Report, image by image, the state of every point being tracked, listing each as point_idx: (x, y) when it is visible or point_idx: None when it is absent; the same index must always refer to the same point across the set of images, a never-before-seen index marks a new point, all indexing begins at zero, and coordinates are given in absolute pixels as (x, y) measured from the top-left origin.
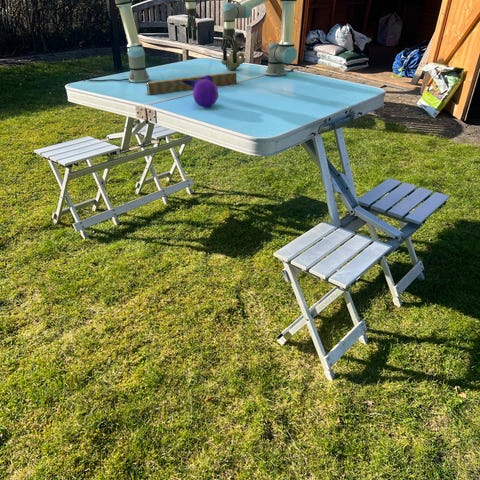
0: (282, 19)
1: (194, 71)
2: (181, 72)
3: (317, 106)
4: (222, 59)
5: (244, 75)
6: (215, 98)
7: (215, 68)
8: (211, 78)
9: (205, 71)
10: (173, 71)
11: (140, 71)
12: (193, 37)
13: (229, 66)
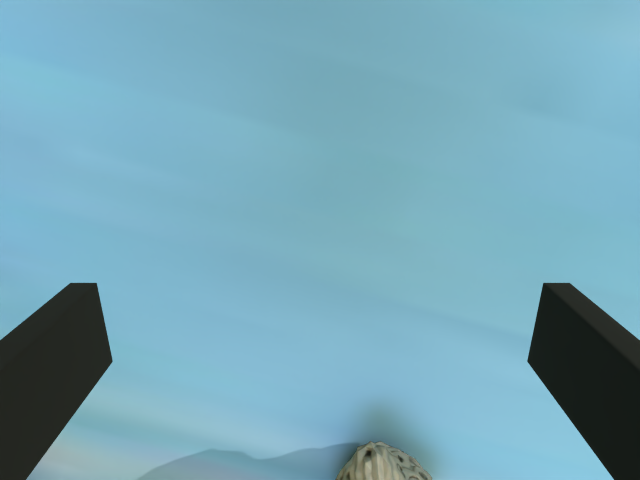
0: None
1: (492, 208)
2: (515, 79)
3: None
4: (376, 474)
5: (155, 471)
6: None
7: (520, 390)
8: None
9: (438, 291)
10: (621, 10)
11: None
12: (21, 333)
13: (346, 466)
